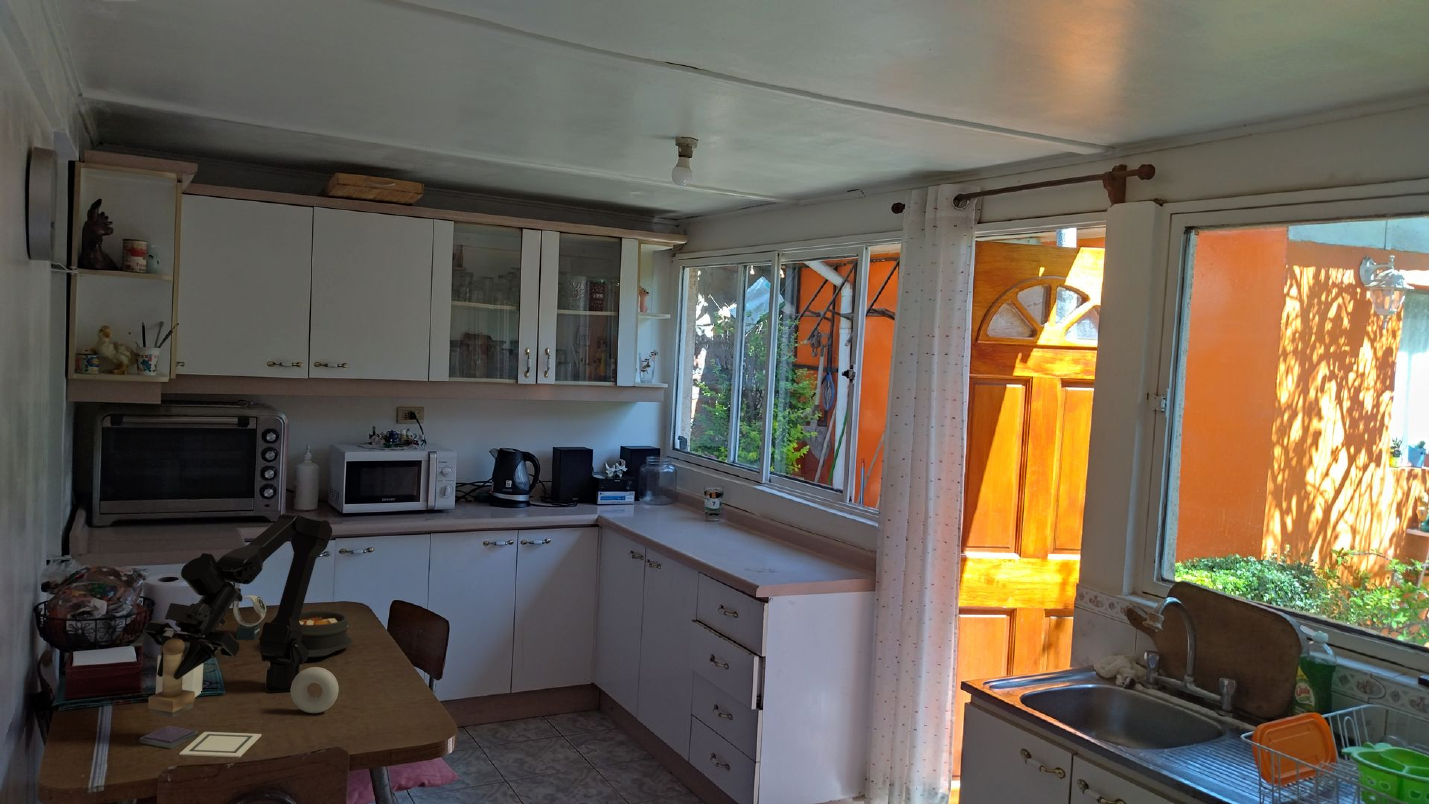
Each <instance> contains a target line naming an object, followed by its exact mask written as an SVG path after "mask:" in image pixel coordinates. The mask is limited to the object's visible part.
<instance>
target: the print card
mask: <svg viewBox="0 0 1429 804" xmlns="http://www.w3.org/2000/svg"><path fill="white" fill-rule="evenodd" d="M261 737H262V733H246V732H245V733H244V732H243V733H240V732H222V731H219V732H218V731H215V732H214V731H204V732H203V733H201V734H200V735H198V736H197V737H196V738H195V739H194V740H193V741H192V742H191V743H189V744H188V745H187V746H186V747H185V748H184V749H183V750H182V751H180V752H179V753H178V754H179V756H196V757H199V756H200V757H220V758H221V757H224V758H241V757H242V756H243V755H244V754H245V753H246V752H247V751H248V750H249V748H251V747H252V746H253V744H255V743H256V742H257V741H258V739H260V738H261Z"/></svg>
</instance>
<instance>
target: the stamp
mask: <svg viewBox="0 0 1429 804" xmlns="http://www.w3.org/2000/svg"><path fill="white" fill-rule="evenodd" d="M184 649H185V645H184V642H183V641H182V640H181V639H178V638H172V639H169V640H168V641H166V642H165V643H164V645H163V653H164V656H163V683H162V692H159V693H157V694H156V693H155V694H152V695H150V696H148V703H147V704H148V705H147V707H148V709H149V714H154V715H160V716H164V717H171V718H174V717H176V716H178V715H180V714H182V713H184V712H186V711H188V710H191V709H192V708H194V707H193V706H194V703H195V700H196V697H195V692H194V691H188V690H182V677H181V678H180V679H178V680H176V679H175V678H174V675H175V673H176V671H177V669H178V667H179V665H180V664H181V662H182V661H183V652H184Z"/></svg>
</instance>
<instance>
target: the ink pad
mask: <svg viewBox="0 0 1429 804" xmlns="http://www.w3.org/2000/svg"><path fill="white" fill-rule="evenodd" d="M198 732H199V731H198V730H195V729H189V728H183V727H177V726H173V725H172V726H171V725H166V726H164V727H161V728H159V729H157V730H155V731H152V732H151V733H148V734H146V735H143V736H141V737H139V744H144V745H148V746H155V747H158V748H165V749H169V748H171V749H173V748H175V747H177V746H180V745H181V743H182V744H184V743H186V742H188V741H189V740H192V739H194V738H198V734H199V733H198Z"/></svg>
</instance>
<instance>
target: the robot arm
mask: <svg viewBox="0 0 1429 804" xmlns="http://www.w3.org/2000/svg"><path fill="white" fill-rule="evenodd" d="M332 536H333V527H332V526H331V523H330V522H329V521H328V520H327V519H326V520H325V519H318V518H310V517H306V516H303V515H301V514H296V513H288V512H284V513H281V514H280V515H279V516H278V517H277V520H276V521H275V522H273V523H272V524H271V525H270V526H268V527H267V528H266V529H264V531H263V532H262V533H260V534H259V535H258V536H257V537H255V538H254V539H253V540H252V541H250V542H249V543H248V544H247V545H245V546H242V547H239V548H234V549H232V550H231V551H229V552H226V554H225V553H224V554H223V555H222V556H221V557H220V558H219V559H218V560H216V558H215V556H213V554H212V553H207V552H202V553H201V554H200V556H199V557H195V558H193V559H191V560H189V561H188V562H187V563H184V565H183V566H182V569H181V571H180V576H181V578H182V580H184V581H185V583H187V585H188V587H190V588H191V590H192V591H194V593H195V594H196V595H197V596H200V597H201V598H200V599H199V601H198V602H196V603H190V604H189V605H187V604H180V603H175V602H174V603H173V602H170V603H169V606H168V608H167V610H166V613H165V616H164V620H167V621H168V620H170V621H173V622H175V623H174V625H175V626H176V627H177V628H180V629H179V630H177V629H175V628H174V627H173V626H172V625H171V624H170V622H166V621H159V620H150V621H148V623H147V624H146V625H145V626H144V628H143V630H142V632H143V633H144V634H145V635H146V636H147V637H148V638H149V639H150V640H151V641H152V642H153V644H155V645H156V646H158V647H161V646H163V645H164V643H165V642H166V641H168V640H169V639H172V638H178V639H181V640H182V641H183V642H188V643H190V645H189V651H188V653H187V654H186V656H185V657H184V659H183V661H182V662H181V664H180V665H179V667H178V669H177V671H176V673H175V675H174V678H175V679H176V680H178V679H180V678H181V677H183V676H184V675H185V674H187V673H188V672H190V671H191V670H193V669H194V668H196V667H197V666H199V665H201V664H203V665H204V663H206V662H208V661H210V660H212V659H216V658H217V654H216V653H217V652H218V649H220V650H219V651H220V654H221V656H222V657H227V658H232V659H234V658H236V656H237V655H238V652H239V651H240V642H238V640H236V637H234V636H233V635H232V634H231V632H230V631H226V630H218V629H217V628H218V626H222V627H223V626H224V625H225V623H226V620H225V619H224V617H225V616H226V614H227V612H228V611H229V609H230V608H231V606H232V604H233V603H234V602H239V603H242V602H243V599H242V597H243V595H242V593H241V592H242V588H239V587H235V585H234V584H239V585H240V584H241V585H250V584H251V583H253V582H254V581H255V579H256V578H257V577H258V575H260V573H261V572H262V571H263V567H264V562H265V561H266V560H268V558H269V557H271V556H272V555H273V554H274V553H275V552H277V551H278V550H279V548H280V549H281V547H282V546H283V545H284V544H285V543H287V542H288V541H289V540H290V545H291V548H292V551H293V557H292V559H291V564H290V567H289V571H288V573H287V577H286V581H285V583H284V587H283V591H282V594H281V598H280V602H279V604H278V608H277V612H276V615H275V616H274V617H273V619H272V620H271V621H265V622H264V623H263V625H262V630H261V632H260V635H259V638H258V641H259V643H258V649H259V653H260V656H261V661H262V662H268V666H266V668H265V683H264V684H265V685H264V686H265V688H266V690H267V693H271V694H272V693H282V692H283V693H285V692H291V691H290V689H291V685H292V682H293V680H294V678H295V677H296V675H298V674H299V673H300V665H304V664H305V662H307V661H308V659H309V657H308V654H309V651H308V650H307V649H306V647H305V646H304V645H303V644H302V642H301V640H302V634H303V632H302V629H301V625H300V622H299V618H300V614H301V612H302V611H303V607H304V603H305V600H306V595H307V593H308V589H309V585H310V582H311V578H312V574H313V571H314V567H315V564H316V560H317V559H318V557H319V556H320V555H322V553H323V552H324V551H325V550H326V549H327V547H328V545H329V543H330V540H331V538H332ZM183 653H184V652H183ZM163 656H164V653H163V648H162V655H161V659H160V663H159V668H158V672H157V671H156V676H157V675H158V676H159V677H162V676H163Z"/></svg>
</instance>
